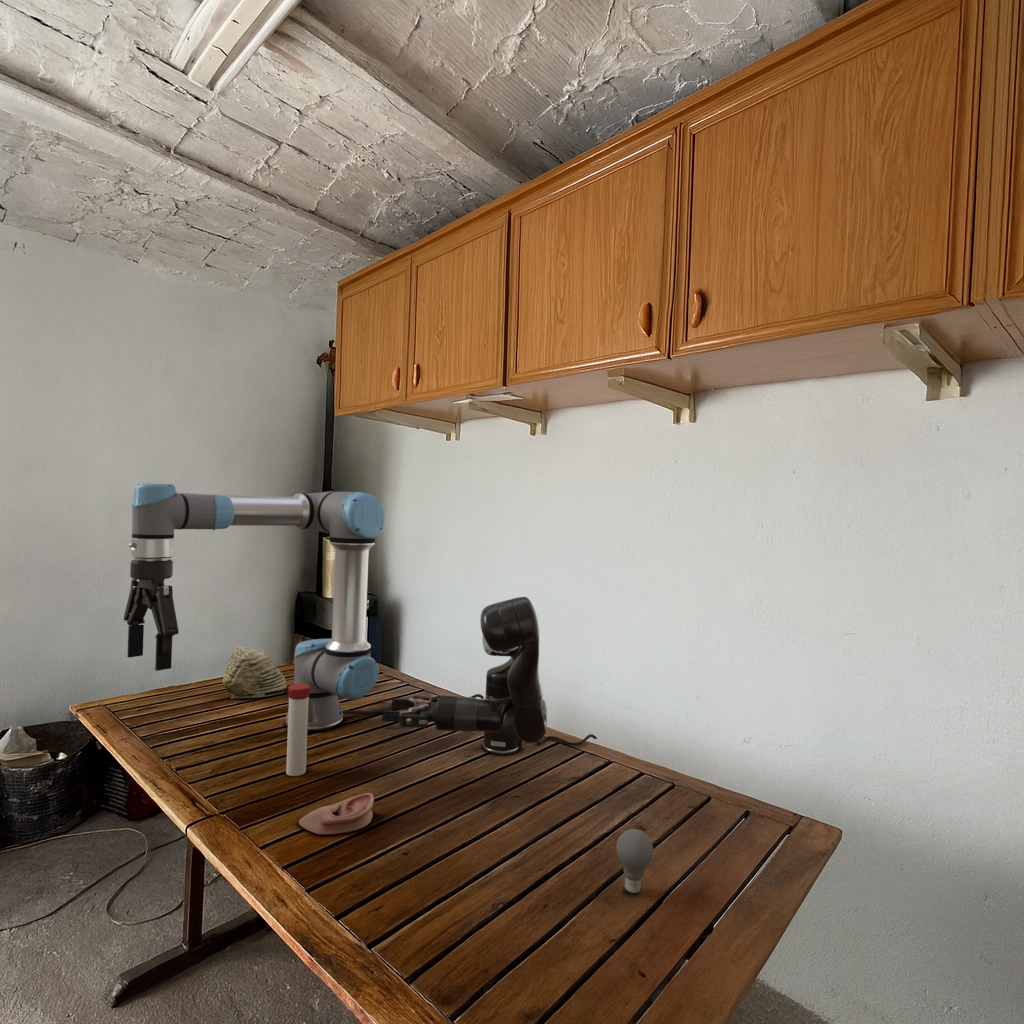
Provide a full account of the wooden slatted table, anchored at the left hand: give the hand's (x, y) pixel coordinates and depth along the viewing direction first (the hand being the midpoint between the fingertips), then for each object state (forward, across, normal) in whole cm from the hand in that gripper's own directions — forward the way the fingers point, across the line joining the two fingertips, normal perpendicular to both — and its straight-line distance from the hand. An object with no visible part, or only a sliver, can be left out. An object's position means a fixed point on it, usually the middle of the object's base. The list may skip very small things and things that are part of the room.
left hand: (148, 662), depth 129 cm
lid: (+9, +11, +28) cm, 31 cm away
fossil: (+28, -47, +50) cm, 74 cm away
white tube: (+28, +11, +28) cm, 41 cm away
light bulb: (+28, +90, +41) cm, 103 cm away
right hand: (+12, +27, +40) cm, 50 cm away
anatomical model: (+28, +36, +21) cm, 50 cm away
